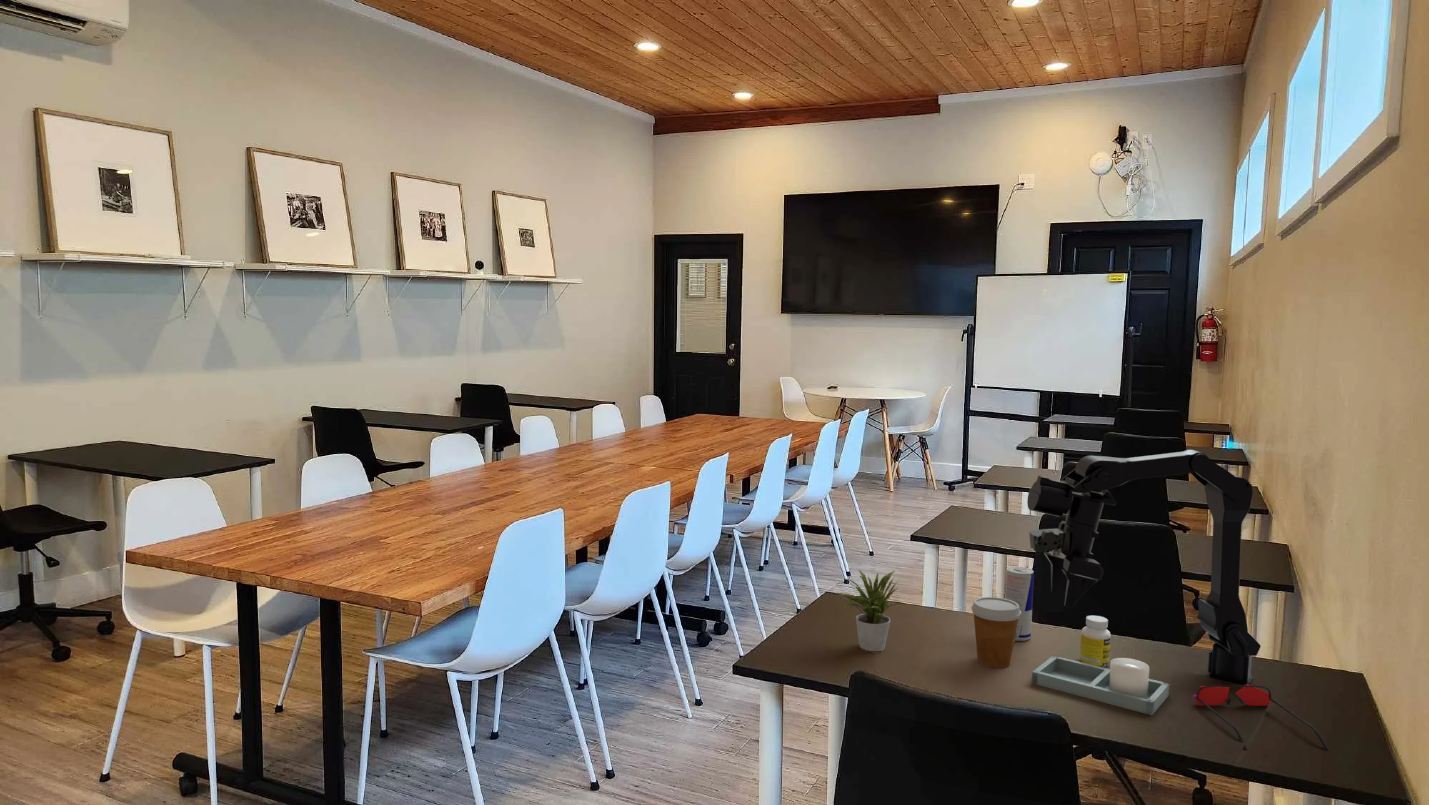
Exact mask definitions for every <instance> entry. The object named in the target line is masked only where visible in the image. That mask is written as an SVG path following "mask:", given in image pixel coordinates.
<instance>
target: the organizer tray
mask: <svg viewBox="0 0 1429 805" xmlns="http://www.w3.org/2000/svg"><path fill="white" fill-rule="evenodd" d="M1031 672H1032V673H1031V685H1036V686H1039V687H1044V688H1048V689H1050V690H1056V691H1059V692H1062V693H1066V694H1070V695H1073V696H1078V697H1080V698H1081V697H1082V698H1084V699H1089V700H1093V701H1096V702H1099V703H1100V702H1101V703H1102V704H1107V705H1111V706H1115V707H1119V708H1123V709H1127V710H1130V711H1135V712H1138V713H1142V714H1145V715H1149V716H1153V715H1154V714H1155V713H1156V711H1158V709H1159V708H1160V707H1161V706H1162V704H1163V703H1164V702H1165V701H1166V700H1167V699H1168V697H1169V696H1170V683H1167V682H1165V681H1164V682H1163V681H1160V680H1155V679H1152V678H1149V683H1148V699H1145V698H1141V697H1137V696H1133V695H1129V694H1125V693H1121V692H1117V691H1113V690H1109V680H1110V668H1107V667H1105V668H1103V667H1099V666H1095V665H1091V664H1086V663H1082V662H1080V661H1077V660H1074V659H1070V658H1064V657H1060V656H1058V655H1052V656H1051V657H1050V658H1048V659H1047V660H1045V661H1044V662H1043V663H1042V664H1041V665H1039V666H1038V667H1037V668H1035V669H1034V670H1032V671H1031Z"/></svg>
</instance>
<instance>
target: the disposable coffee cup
mask: <svg viewBox="0 0 1429 805" xmlns="http://www.w3.org/2000/svg"><path fill="white" fill-rule="evenodd" d="M972 603H973V604H972V605H971V611H972V614H973V621H974V622H973V623H974V624H973V625H974V633H975V634H974V635H975V636H974V637H975V643H976V644H975V645H976V657H977V662H978V663H979V664H981V665H983V666H986V667H989V668H995V669H997V668H998V669H1002V668H1003V669H1004V668H1007V667H1010V665H1011V662H1012V661H1011V660H1012V656H1013V650H1014V644H1015V634H1016V629H1017V623H1018V618H1019V617H1020V615H1021V611H1020V608H1019V605H1018V604H1017V603H1016V602H1014V601H1011V600H1008V599H1005V597H1004V598H1003V597H994V596H984V597H979V598H976V599H974V600H973V602H972Z"/></svg>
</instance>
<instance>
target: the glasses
mask: <svg viewBox="0 0 1429 805" xmlns="http://www.w3.org/2000/svg"><path fill="white" fill-rule="evenodd" d="M1230 688H1240V689H1239V690H1237V691H1236V692H1235V694H1236V695H1237V696H1238V697H1239V698H1238V700H1239V702H1240V704H1241V705H1242V706H1243V705H1244V703H1245V704H1246V706H1251V707H1252V706H1253V707H1254V706H1256V707H1257V706H1259V707H1260V706H1261V707H1263V706H1264V707H1266V706H1268V705H1270V704H1271V702H1273V703H1274V704H1275V705H1276V706H1278V707H1280V708H1281V709H1283V710H1284V711H1286V712H1287V713H1289V714H1290V715H1291V716H1292V717H1294V718H1296V719H1297V720H1298V721H1300V722H1301V723H1303V724H1305V725H1306V726H1308V727H1309V728H1310V729H1311V730H1312V731H1313V732H1314V733H1315V735H1316V736H1317V738H1318V740H1319V741H1320V743H1321V744H1322V746H1323V748H1324V750H1325V751H1326V752H1330V748H1329V747H1328V745H1327V743H1326V742H1325V740H1324V739H1323V737H1322V735H1321V733H1320V732H1319V731H1318V729H1316V727H1314V725H1312V724H1310V723H1309V722H1307V721H1306V720H1304V719H1303V718H1301V717H1300V716H1298V715H1297V714H1296V713H1294V712H1293V711H1291V710H1289V709H1288V708H1287V707H1285V706H1284V705H1282V704H1281V703H1280V702H1278V701H1277V700H1276V699H1273V698H1272V697H1273V696H1272V695H1273V694H1272V693H1271V690H1270V689H1269V688H1268V687H1265V686H1262V685H1250V684H1248V685H1222V684H1220V685H1207V686H1204V685H1200V687H1199V690H1198V691H1197V694H1193V695H1192V698H1193V699H1195V704H1196V706H1204V707H1206V709H1208V710H1209V711H1210V712H1212V713H1213V714H1214V715H1216V716H1217V717H1218V718H1219V719H1221V720H1223V722H1225V723H1226V724H1227V725H1228V726H1230V727H1231V728H1232V729H1233V730H1234V732H1235V733H1236V735H1237V739H1238V740H1239V742H1240V743H1242V744H1244V743H1245V741H1244V738H1243V737H1242V734H1241V733H1240V732H1241V731H1240V730H1239V729H1238V728H1237V727H1236V726H1235V725H1234V724H1233V723H1232V722H1230V721H1229V720H1228V719H1226V718H1225V717H1224V716H1223V715H1221V714H1220V713H1218V711H1216V710H1215V709H1213V707H1211V706H1218V705H1221V704H1224V703H1226V705H1227V706H1229V705H1230V704H1231V702H1232V698H1230V697H1229V692H1230ZM1261 688H1262V689H1265V690H1267V691H1268V692H1267V691H1265V690H1262V689H1261ZM1243 749H1244V750H1243ZM1242 750H1243V751H1245V752H1246V751H1248V749H1247V746H1246V745H1244V746H1243V748H1242Z"/></svg>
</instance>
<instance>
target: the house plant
mask: <svg viewBox="0 0 1429 805" xmlns="http://www.w3.org/2000/svg"><path fill="white" fill-rule="evenodd" d="M856 570H857V571H858V572H859V574H860V575H859V577H860V579H861V580H862V582H863V586H864V589H865V591H866V593H867V594H866V593H865V592H864V590H863V589H862V588H861V586H859V585H858V584H857V582H855V581H853V580H852V579H849V578H845V577H840V576H838V578H840V579H843V580H847V583H849V584H850V583H851V586H853V587H855V589H856V590H857V591H858V593H859V595H856V596H855V595H853V594H850V593H844V592H837V594H838V595H840V596H843V597H844V599H845V600H847V601H849V602H845V603H844V604H843V607H844V608H843V609H847V608H850V607H854V606H855V608H856V609H858V610H859V611H860V612H861V614H857V615H856V616H855V622H856V628H857V629H856V630H857V637H858V645H860V646H859V648H860V647H861V648H863V649H866V650H869V651H881V652H883V650H884V651H885V647H886V643H887V638H888V634H889V631H890V630H889V629H890V624H891V618H890V617H889V616H887V615H885V614H884V612H885V611H886V610H888V609H889V608H890V607H892V606H896V605H900V606H903V603H894V604H891V602H889V601H888V600H890V599H891V596H892V594H894V592H896V591H897V590H898V589H899V587H897V588H895V586H896V584H898V582H899V580H897V581H896V582H895V583H894V584H893V582H894V579H895V575H894V576H893V578H892V579H891V577H892V575H893V574H894V573H895V572H896V570H893V571H890V572H889V573H887V574H885V575H884V576H883V577H882V578H880V581H879V573H876V575H875V579H874V581H873V582H872V580H871V578H870V577H869V576H867V575H865V573H863V572H862V571H861V570H860V569H858V568H856ZM890 579H891V580H890ZM848 581H849V582H848ZM853 584H854V585H853ZM887 584H888V585H887ZM892 584H893V585H892ZM894 588H895V589H894ZM889 589H890V590H889ZM888 591H889V592H888ZM840 599H842V597H840ZM859 607H860V608H859ZM861 609H862V610H861Z"/></svg>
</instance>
